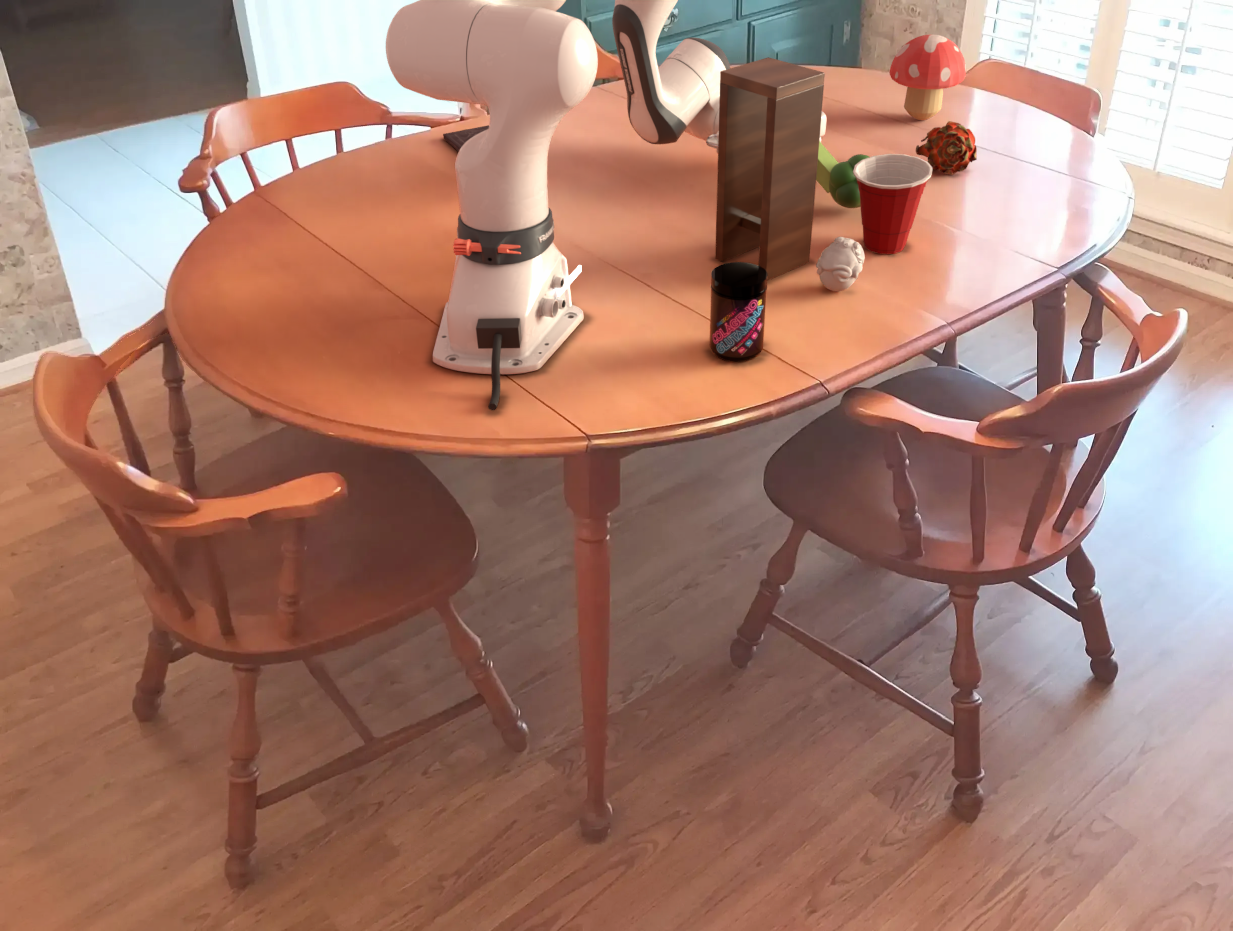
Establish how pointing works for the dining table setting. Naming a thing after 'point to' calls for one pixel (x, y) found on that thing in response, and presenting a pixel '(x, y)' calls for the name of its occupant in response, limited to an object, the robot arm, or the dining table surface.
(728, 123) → the wooden stand
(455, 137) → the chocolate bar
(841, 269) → the white rounded carved piece
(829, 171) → the broccoli
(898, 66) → the decorative mushroom
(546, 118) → the robot arm
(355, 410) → the dining table surface
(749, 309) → the supplement container
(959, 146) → the dragon fruit
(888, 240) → the plastic cup
